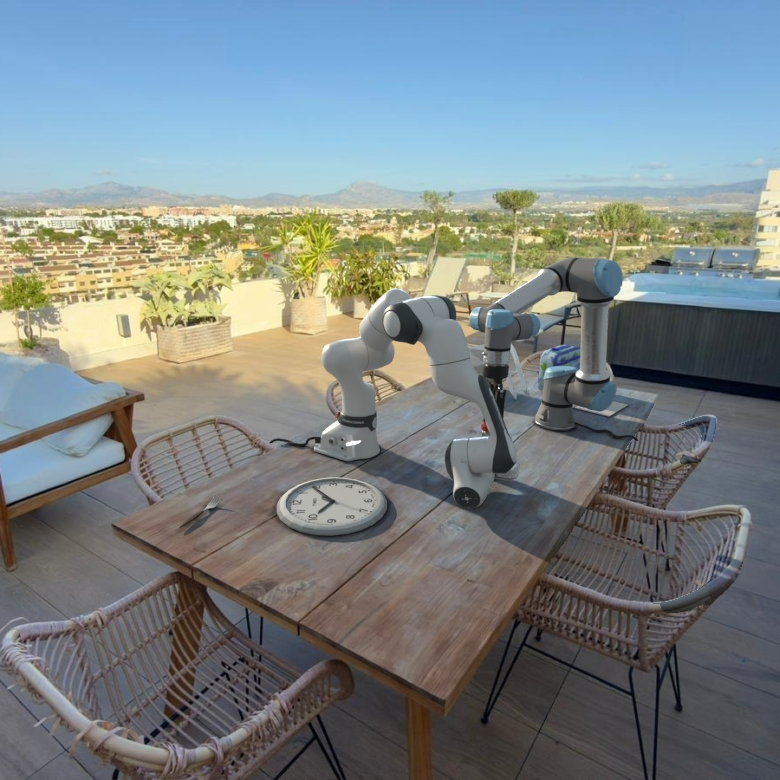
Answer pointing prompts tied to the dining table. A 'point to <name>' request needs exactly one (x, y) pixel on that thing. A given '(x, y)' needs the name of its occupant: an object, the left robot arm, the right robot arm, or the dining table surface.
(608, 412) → the invitation card
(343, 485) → the wall clock
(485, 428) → the lid
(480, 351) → the white plastic object
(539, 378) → the lunch box
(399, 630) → the dining table surface
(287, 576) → the dining table surface
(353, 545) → the dining table surface
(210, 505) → the fork
